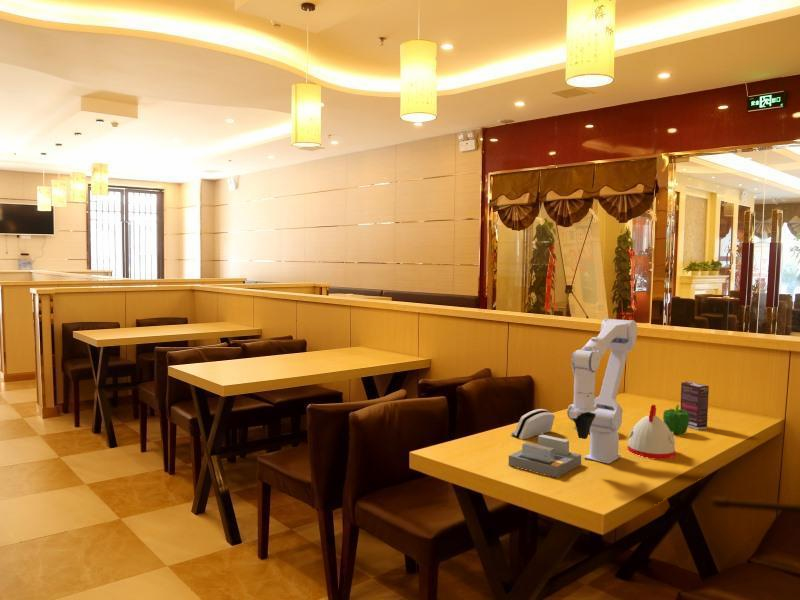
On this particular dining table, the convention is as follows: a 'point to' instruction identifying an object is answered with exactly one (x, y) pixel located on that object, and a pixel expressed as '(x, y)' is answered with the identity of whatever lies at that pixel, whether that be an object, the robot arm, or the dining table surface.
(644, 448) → the chicken hat
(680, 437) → the dining table surface
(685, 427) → the bell pepper
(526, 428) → the white arched block
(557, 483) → the dining table surface
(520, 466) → the rack
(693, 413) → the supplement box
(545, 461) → the panel
